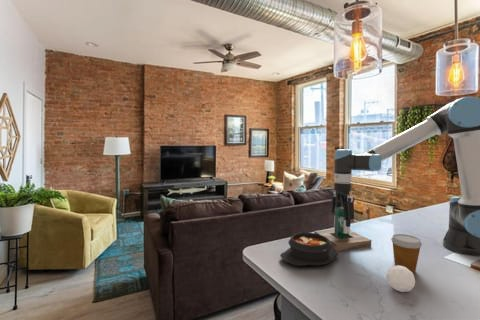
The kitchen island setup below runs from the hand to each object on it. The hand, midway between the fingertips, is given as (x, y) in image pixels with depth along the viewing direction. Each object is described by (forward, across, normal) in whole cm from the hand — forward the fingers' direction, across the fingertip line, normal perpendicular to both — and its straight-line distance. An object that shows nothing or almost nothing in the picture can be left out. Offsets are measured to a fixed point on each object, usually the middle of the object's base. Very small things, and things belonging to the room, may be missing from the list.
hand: (341, 230), depth 123 cm
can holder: (+5, 0, 0) cm, 5 cm away
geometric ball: (+6, +40, -8) cm, 41 cm away
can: (+4, 0, 0) cm, 4 cm away
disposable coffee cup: (+6, +30, +5) cm, 31 cm away
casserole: (+6, +12, -24) cm, 27 cm away
